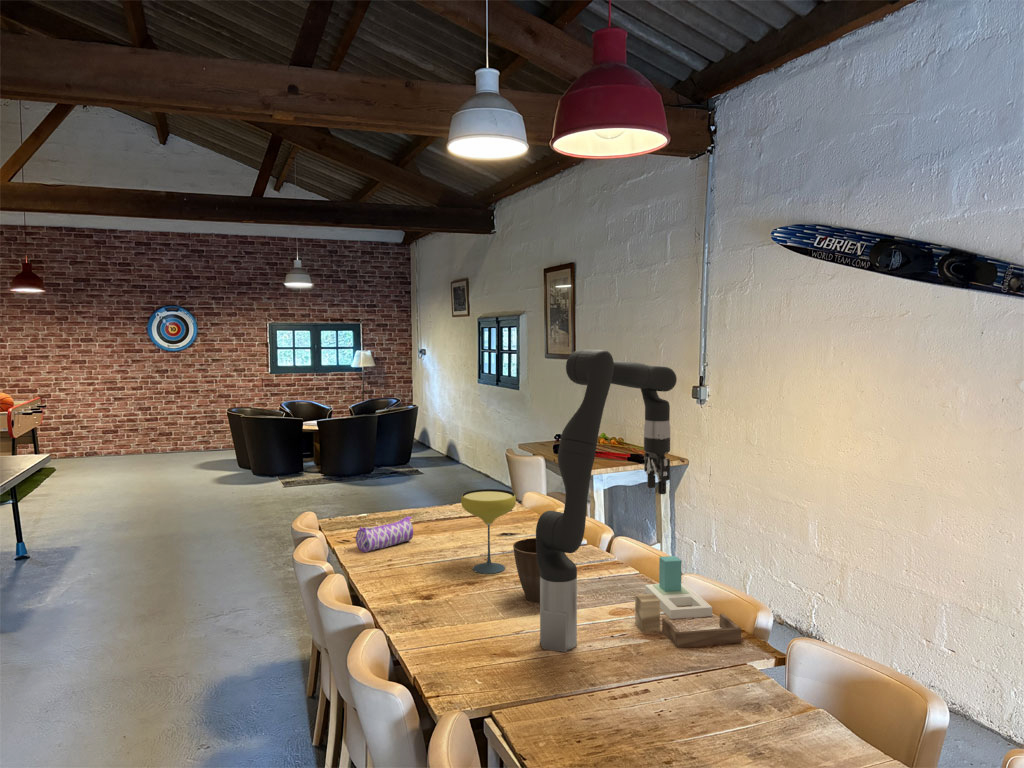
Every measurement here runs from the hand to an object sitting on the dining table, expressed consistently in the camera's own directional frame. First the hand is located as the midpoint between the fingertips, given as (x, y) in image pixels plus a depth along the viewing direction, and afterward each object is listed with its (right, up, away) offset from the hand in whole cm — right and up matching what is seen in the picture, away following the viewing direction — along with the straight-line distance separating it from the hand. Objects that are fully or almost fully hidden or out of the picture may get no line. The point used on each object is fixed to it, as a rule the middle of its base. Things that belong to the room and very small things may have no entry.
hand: (656, 490), depth 204 cm
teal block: (+4, -29, +3) cm, 30 cm away
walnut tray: (+6, -34, -24) cm, 42 cm away
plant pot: (-34, -32, +3) cm, 47 cm away
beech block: (-6, -33, -18) cm, 39 cm away
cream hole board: (+5, -32, -2) cm, 33 cm away
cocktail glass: (-50, -31, +30) cm, 66 cm away
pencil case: (-89, -29, +56) cm, 109 cm away
